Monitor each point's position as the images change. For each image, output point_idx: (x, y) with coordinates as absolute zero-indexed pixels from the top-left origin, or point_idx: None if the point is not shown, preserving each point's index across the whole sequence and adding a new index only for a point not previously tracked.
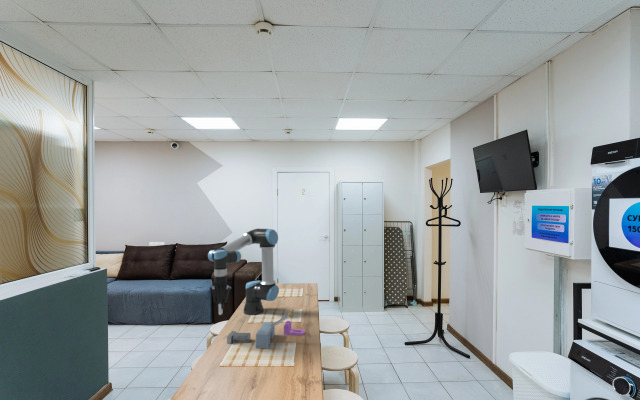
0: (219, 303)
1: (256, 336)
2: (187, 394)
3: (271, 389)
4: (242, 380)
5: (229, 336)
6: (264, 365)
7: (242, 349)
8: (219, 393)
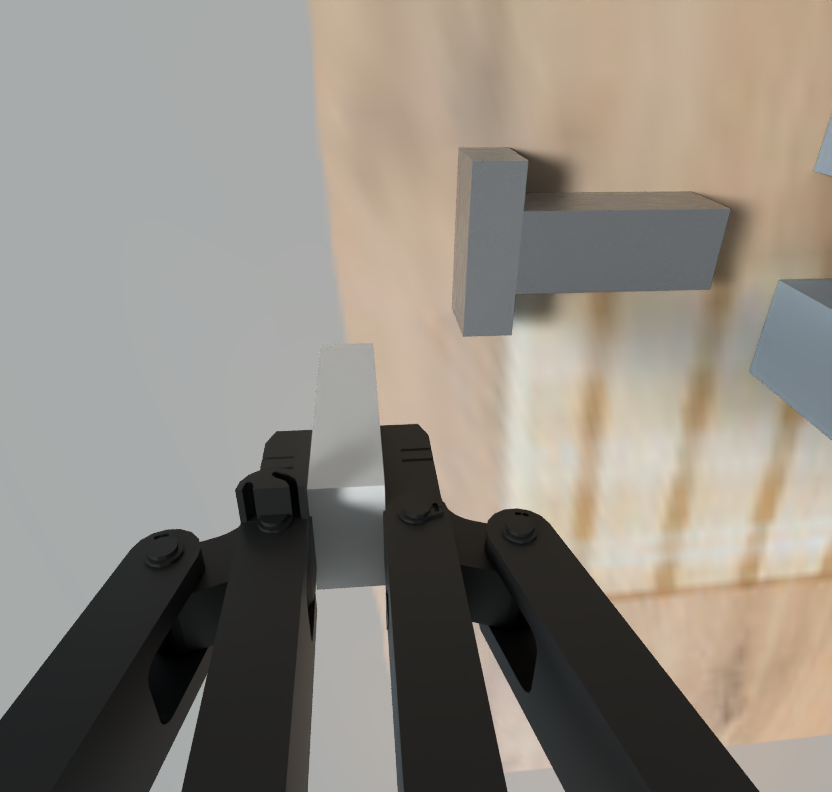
0: (319, 550)
1: (824, 430)
2: None
3: (811, 716)
4: None
5: (488, 323)
6: (798, 574)
7: (630, 405)
8: None
